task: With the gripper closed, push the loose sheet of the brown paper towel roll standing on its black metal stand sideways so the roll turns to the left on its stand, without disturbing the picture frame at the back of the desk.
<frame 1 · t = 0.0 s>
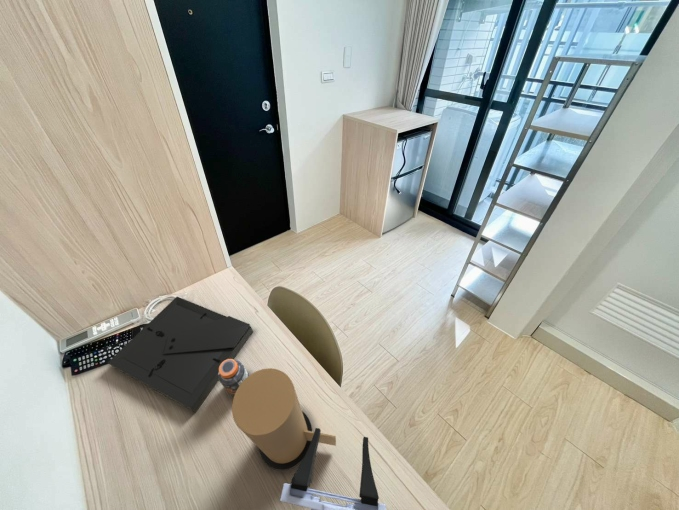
hand: (341, 433, 43), 22 cm above the table, tool horizontal, fingers open, 7 cm apart
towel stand: (286, 436, 61), on the table
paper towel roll: (292, 423, 51), point 13 cm above the table, hinge at 0.0°
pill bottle: (240, 385, 69), on the table
picture frame: (187, 349, 76), on the table
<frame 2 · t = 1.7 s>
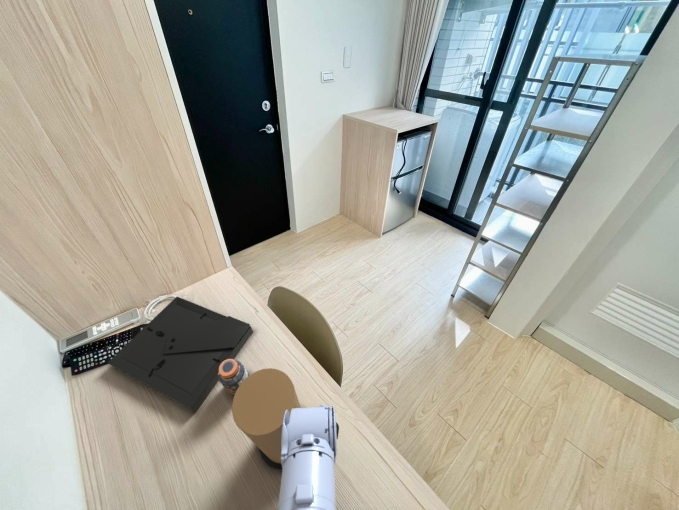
hand: (320, 464, 49), 10 cm above the table, tool pointing down, fingers open, 6 cm apart
nothing on the table moved.
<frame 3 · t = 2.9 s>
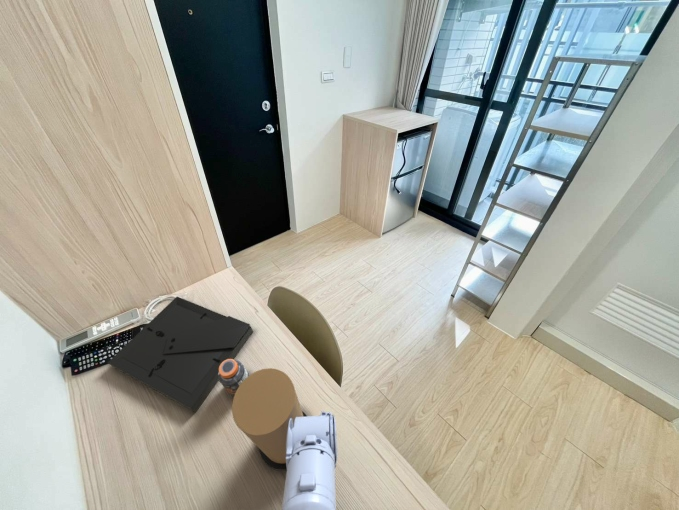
hand: (321, 467, 52), 7 cm above the table, tool pointing down, fingers closed
nothing on the table moved.
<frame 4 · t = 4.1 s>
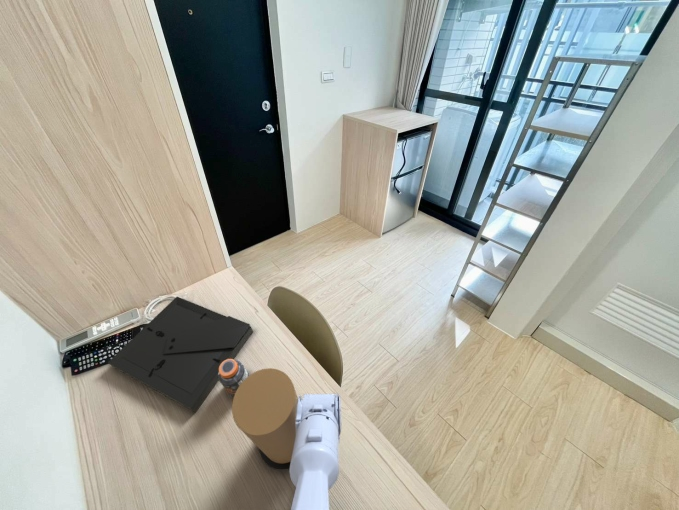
hand: (325, 447, 56), 4 cm above the table, tool pointing down, fingers closed
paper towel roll: (292, 422, 51), point 13 cm above the table, hinge at 1.6°, touching gripper
everything else where it was.
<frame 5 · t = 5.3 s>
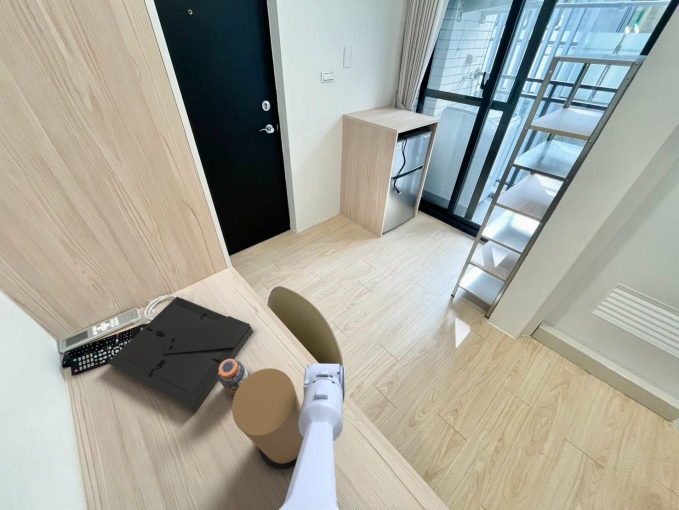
hand: (329, 422, 59), 4 cm above the table, tool pointing down, fingers closed
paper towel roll: (292, 412, 53), point 13 cm above the table, hinge at 32.8°, touching gripper
everything else where it was.
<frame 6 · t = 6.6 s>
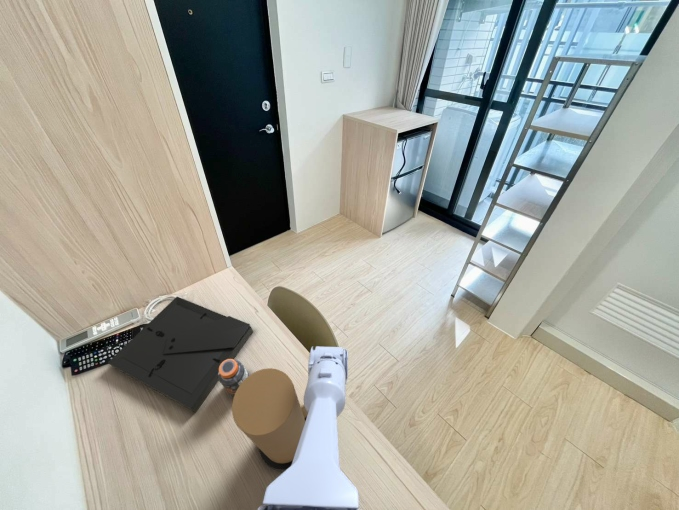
hand: (331, 407, 61), 4 cm above the table, tool pointing down, fingers closed
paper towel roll: (290, 407, 53), point 13 cm above the table, hinge at 50.1°
everything else where it was.
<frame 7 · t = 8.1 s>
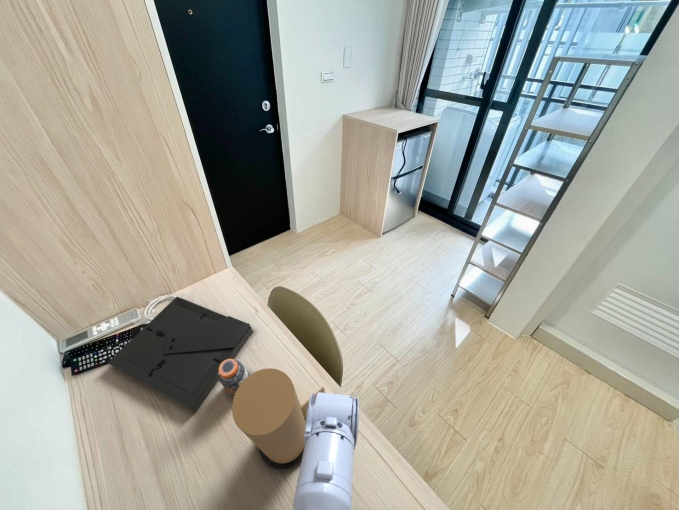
hand: (335, 454, 50), 10 cm above the table, tool pointing down, fingers closed
nothing on the table moved.
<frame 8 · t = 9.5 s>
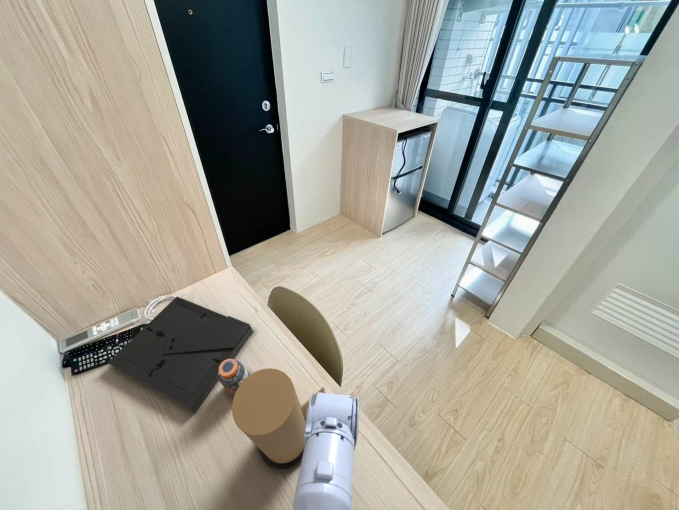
hand: (335, 454, 50), 10 cm above the table, tool pointing down, fingers closed
nothing on the table moved.
at the end: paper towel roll at +50° (first picture: +0°); picture frame moved 0.2 cm from its start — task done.
